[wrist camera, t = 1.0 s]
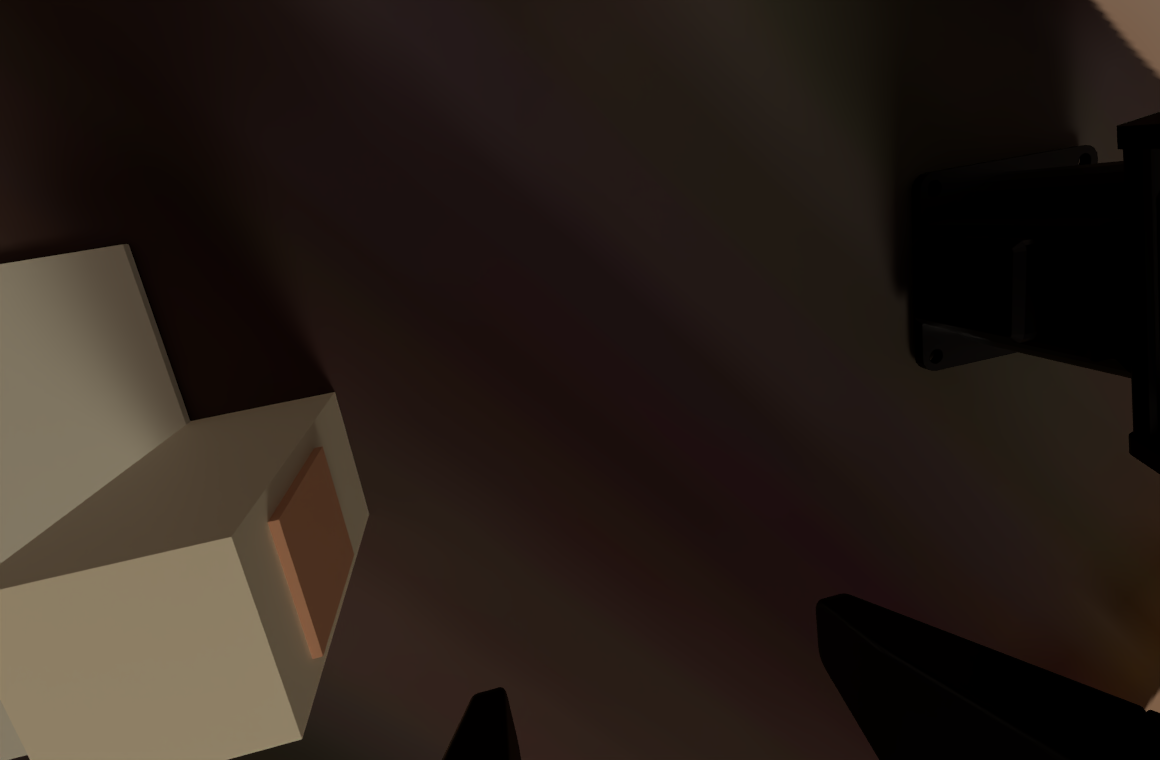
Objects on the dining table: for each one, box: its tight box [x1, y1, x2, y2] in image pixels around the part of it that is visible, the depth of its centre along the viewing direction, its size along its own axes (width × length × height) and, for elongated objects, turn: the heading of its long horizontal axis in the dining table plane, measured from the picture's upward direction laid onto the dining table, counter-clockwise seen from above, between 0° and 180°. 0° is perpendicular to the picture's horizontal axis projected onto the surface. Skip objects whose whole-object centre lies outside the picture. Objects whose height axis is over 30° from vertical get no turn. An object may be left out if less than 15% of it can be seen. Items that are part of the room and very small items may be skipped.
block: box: [0, 392, 369, 760], centre depth 15 cm, size 4×4×9 cm
